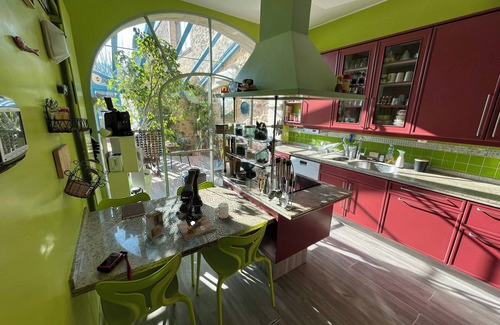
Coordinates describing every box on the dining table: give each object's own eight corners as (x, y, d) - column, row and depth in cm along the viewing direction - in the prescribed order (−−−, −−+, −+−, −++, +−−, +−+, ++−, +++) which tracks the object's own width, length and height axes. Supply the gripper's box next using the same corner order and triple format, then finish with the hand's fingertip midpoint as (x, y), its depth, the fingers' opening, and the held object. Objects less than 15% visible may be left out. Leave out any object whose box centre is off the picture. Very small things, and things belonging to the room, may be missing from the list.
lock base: (177, 226, 151) (177, 224, 150) (205, 217, 163) (205, 216, 162) (185, 240, 135) (185, 238, 134) (215, 230, 147) (215, 228, 146)
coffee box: (160, 229, 145) (158, 209, 141) (164, 233, 142) (162, 212, 137) (147, 235, 139) (144, 214, 134) (151, 239, 135) (149, 217, 131)
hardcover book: (143, 204, 185) (142, 201, 184) (145, 215, 166) (145, 212, 166) (122, 208, 177) (122, 205, 176) (122, 220, 158) (122, 217, 157)
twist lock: (196, 220, 156) (196, 214, 155) (202, 221, 155) (202, 215, 154) (185, 231, 142) (185, 225, 141) (191, 232, 140) (191, 226, 139)
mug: (215, 220, 159) (214, 208, 157) (212, 215, 167) (212, 204, 164) (229, 217, 164) (229, 206, 161) (226, 213, 171) (226, 201, 169)
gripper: (169, 207, 138) (170, 227, 142) (190, 214, 130) (191, 235, 134) (181, 201, 148) (182, 220, 152) (201, 207, 140) (201, 227, 144)
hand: (188, 225), depth 145 cm, fingers closed
